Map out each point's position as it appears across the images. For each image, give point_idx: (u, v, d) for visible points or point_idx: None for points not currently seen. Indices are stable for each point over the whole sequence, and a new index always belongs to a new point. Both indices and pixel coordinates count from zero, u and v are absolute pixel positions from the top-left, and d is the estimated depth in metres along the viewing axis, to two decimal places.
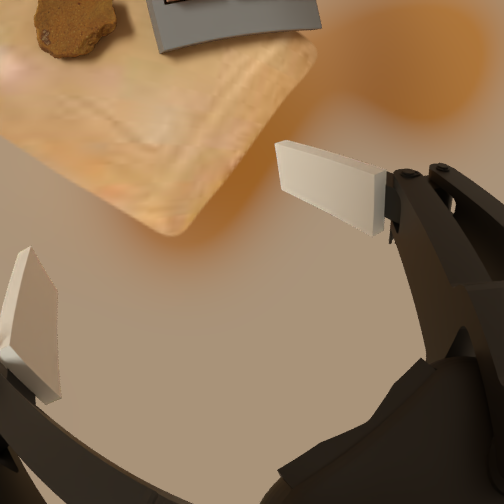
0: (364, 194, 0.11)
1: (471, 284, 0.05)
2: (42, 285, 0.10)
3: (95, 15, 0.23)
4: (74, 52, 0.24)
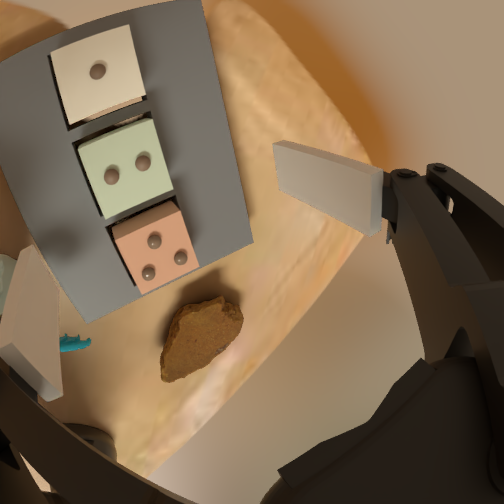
0: (361, 194, 0.11)
1: (469, 284, 0.05)
2: (44, 283, 0.11)
3: (210, 322, 0.35)
4: (241, 322, 0.38)
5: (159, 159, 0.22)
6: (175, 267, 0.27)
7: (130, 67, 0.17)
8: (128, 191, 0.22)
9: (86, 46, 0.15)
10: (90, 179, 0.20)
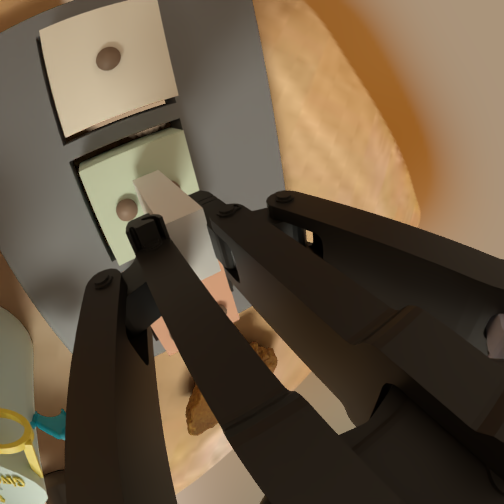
0: None
1: (378, 336, 0.04)
2: None
3: None
4: (275, 365, 0.33)
5: (191, 185, 0.17)
6: None
7: (157, 54, 0.12)
8: None
9: (92, 21, 0.09)
10: (97, 213, 0.15)
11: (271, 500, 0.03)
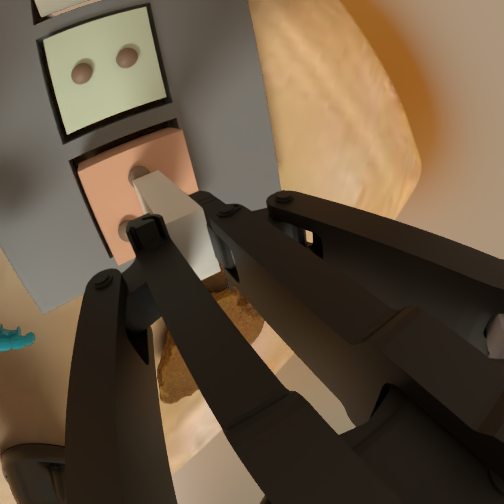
0: None
1: (378, 336, 0.04)
2: None
3: None
4: None
5: (150, 55, 0.13)
6: None
7: None
8: (103, 95, 0.13)
9: None
10: (53, 77, 0.11)
11: (271, 500, 0.03)
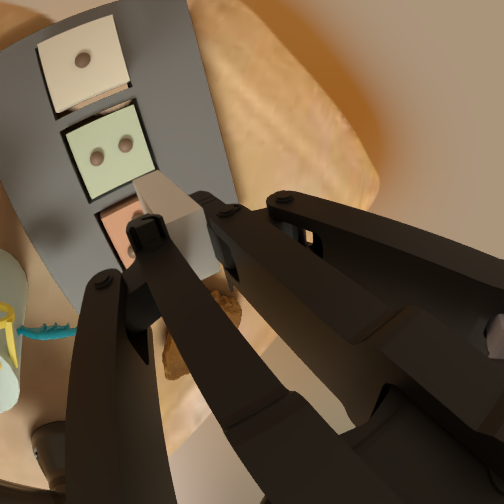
0: None
1: (378, 336, 0.04)
2: None
3: None
4: (240, 313, 0.38)
5: (141, 141, 0.23)
6: None
7: (114, 54, 0.17)
8: (113, 171, 0.22)
9: (71, 36, 0.14)
10: (77, 161, 0.20)
11: (271, 500, 0.03)
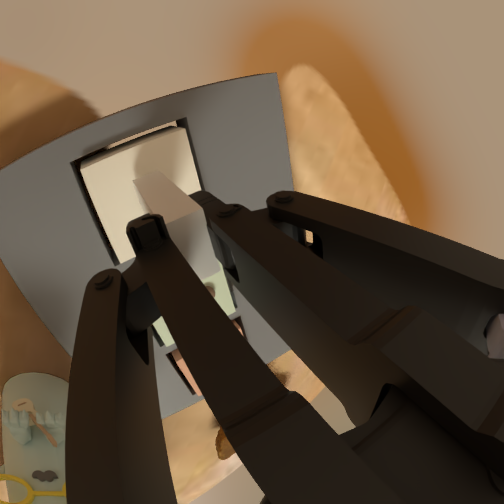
0: None
1: (378, 336, 0.04)
2: None
3: None
4: None
5: (223, 287, 0.21)
6: None
7: (190, 189, 0.17)
8: None
9: (130, 161, 0.14)
10: None
11: (271, 500, 0.03)
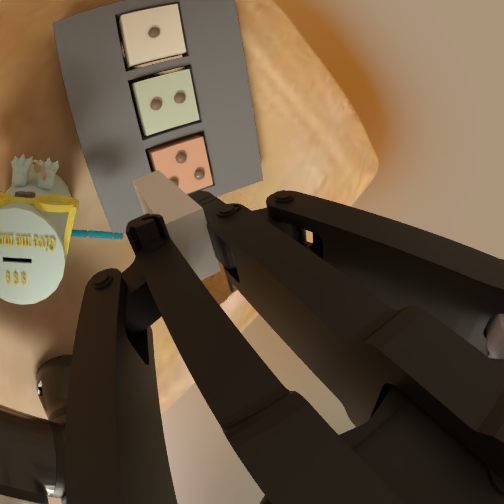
0: None
1: (378, 336, 0.04)
2: None
3: None
4: None
5: (191, 96, 0.29)
6: (194, 182, 0.34)
7: (176, 32, 0.24)
8: (167, 117, 0.29)
9: (147, 14, 0.22)
10: (140, 105, 0.27)
11: (271, 500, 0.03)
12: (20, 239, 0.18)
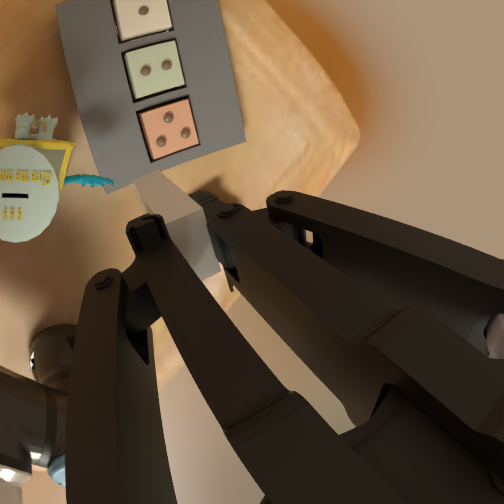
0: None
1: (378, 336, 0.04)
2: None
3: None
4: None
5: (177, 64, 0.30)
6: (181, 140, 0.35)
7: (163, 10, 0.25)
8: (155, 81, 0.30)
9: None
10: (131, 71, 0.28)
11: (271, 500, 0.03)
12: (20, 174, 0.19)
